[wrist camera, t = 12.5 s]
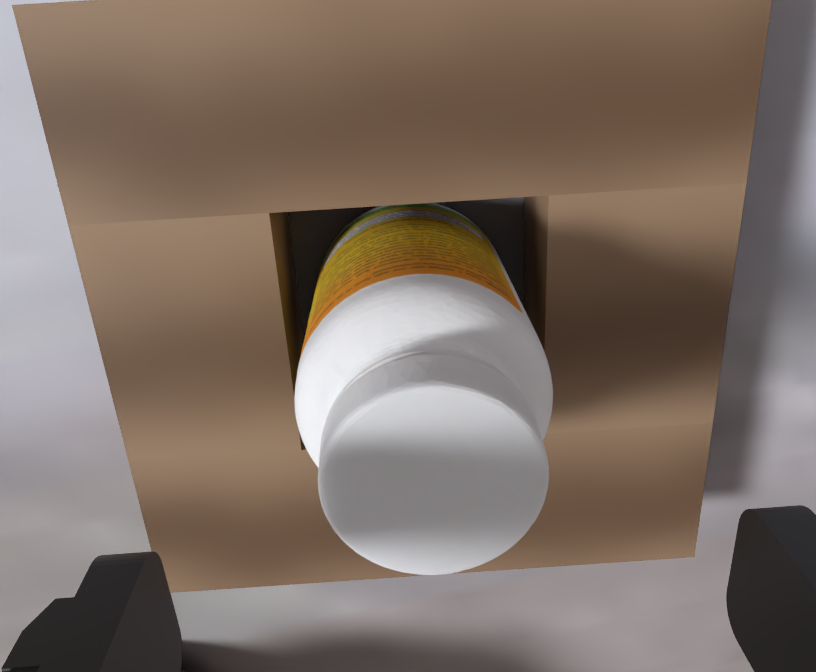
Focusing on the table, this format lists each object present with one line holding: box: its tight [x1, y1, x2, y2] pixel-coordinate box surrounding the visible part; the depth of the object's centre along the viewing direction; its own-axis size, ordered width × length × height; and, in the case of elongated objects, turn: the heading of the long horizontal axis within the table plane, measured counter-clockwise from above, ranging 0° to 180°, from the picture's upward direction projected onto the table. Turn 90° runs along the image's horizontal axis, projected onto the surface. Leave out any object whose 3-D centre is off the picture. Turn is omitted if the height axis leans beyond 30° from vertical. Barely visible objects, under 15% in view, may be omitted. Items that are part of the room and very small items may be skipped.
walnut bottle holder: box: [12, 0, 772, 593], centre depth 20 cm, size 16×16×3 cm
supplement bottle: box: [294, 203, 553, 575], centre depth 17 cm, size 5×5×10 cm
